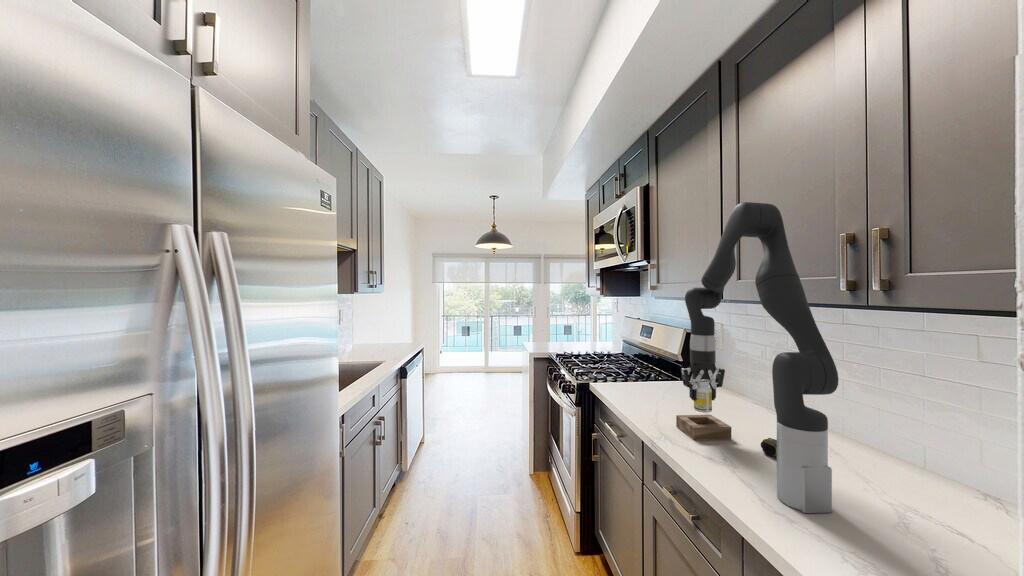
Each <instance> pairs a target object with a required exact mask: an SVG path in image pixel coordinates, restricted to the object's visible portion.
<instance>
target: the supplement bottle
mask: <svg viewBox="0 0 1024 576" xmlns="http://www.w3.org/2000/svg"><path fill="white" fill-rule="evenodd" d="M693 410H695V412H699V413H706V414H707V413H711V412H712V411H713V400H712V390H711V388H710V386H709V381H708V380H705V379H704V380H700V382H699V383H698V384H697V387H696V401H693Z"/></svg>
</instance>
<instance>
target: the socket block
mask: <svg viewBox="0 0 1024 576" xmlns="http://www.w3.org/2000/svg"><path fill="white" fill-rule="evenodd" d="M675 418H676V419H675V420H676V421H675V423H676V426H675V427H676V428H677V429H678V430H680V431H681V432H682V433H684V434H685V435H686V436H688V437H689V438H690V439H692V440H693V441H724V440H725V441H727V440H730V441H731V440H732V426H731V425H729V424H727V423H726V422H724V421H723V420H721V419H719V418H717V417H716V416H714V415H712V414H684V415H683V414H678V415H676V417H675Z"/></svg>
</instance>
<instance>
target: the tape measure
mask: <svg viewBox="0 0 1024 576" xmlns="http://www.w3.org/2000/svg"><path fill="white" fill-rule="evenodd" d="M760 447H761V449H762V451H763V453H765V454H766V455H770V456H772V457H774V458H777V439H774V438H771V437H768V438H764V439H763V440H762V441H761V442H760Z"/></svg>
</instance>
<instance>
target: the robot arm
mask: <svg viewBox="0 0 1024 576" xmlns="http://www.w3.org/2000/svg"><path fill="white" fill-rule="evenodd" d="M782 216H783V215H782V214H781V212H780V210H779V208H778V207H777V206H776V205H774V204H771V203H765V202H764V203H763V202H754V201H753V202H752V201H751V202H750V201H749V202H748V201H743V202H740V203H738V204H736V205H735V207H734V208H733V210H732V211H731V213H730V215H729V216H728V218H727V222H726V224H725V227H724V229H723V232H722V235H721V237H720V240H719V243H718V246H717V248H716V251H715V254H714V256H713V258H712V259H711V261H710V263H709V265H708V266H707V268H706V270H705V272H704V273H703V275H702V277H701V280H700V282H701V284H702V286H703V287H690V288H689V289H688V290H687V291H686V293H685V296H684V302H685V306H686V309H687V313H688V317H689V320H690V339H689V362H690V365H689V367H687V368H684V367H681V368H680V373H681V380H682V384H683V386H685V387H687V388H688V389H689V398H690V399H691V401H693V402H694V401H696V387H697V384H698V383H699V382H700V380H708V381H709V386H708V387H710V388H711V390H712V401H715V400H716V398H717V388H722V387H723V384H724V377H725V372H726V370H725V369H724V368H722V367H716V359H717V358H716V356H717V355H716V351H717V350H716V349H717V348H716V338H715V337H716V336H715V335H716V334H715V331H716V330H715V329H716V328H715V326H716V325H715V319H714V318H713V317H711V316H709V315H708V316H707V315H705V314H703V311H702V310H711V309H715V308H717V307H718V306H719V305H720V304H721V302H722V298H723V294H724V291H725V287H726V285H727V284H728V282H729V281H730V279H731V278H732V276H733V274H734V273H735V269H736V267H737V262H736V253H735V248H736V245H737V244H738V242H739V241H740V240H741V238H743V237H745V238H758V239H759V240H760V243H761V245H762V249H763V258H762V261H761V263H760V265H759V267H758V270H757V272H756V275H755V279H754V280H755V282H754V283H755V287H756V290H757V294H758V298H759V301H760V303H761V305H762V307H763V309H764V311H766V312H767V313H768V314H769V315H770V317H772V319H773V320H775V322H777V324H778V325H780V326H781V327H782V328H783V329H784V330H785V331H787V333H788V334H789V336H790V337H791V338H792V339H793V341H794V343H795V346H796V347H797V349H798V351H797V352H796V351H793V352H792V351H788V352H786V351H785V352H781V353H778V354H777V355H775V358H774V360H773V362H772V367H771V368H772V370H771V372H772V373H771V375H772V387H773V390H772V391H773V406H774V410H775V413H776V414H775V415H776V440H777V457H776V497H777V499H778V500H779V501H780V502H782V503H783V504H785V505H787V506H788V507H790V508H793V509H796V510H799V511H800V512H802V513H804V514H815V513H816V514H820V513H822V514H823V513H826V514H827V513H832V512H833V479H832V478H833V475H832V474H833V469H832V467H831V466H829V462H828V461H829V448H828V447H829V435H828V434H829V420H828V417H827V415H826V414H825V413H823V412H821V411H819V410H817V409H814V408H811V407H809V406H807V405H805V402H804V395H806V396H807V395H815V396H817V395H818V396H819V395H822V396H823V395H831V394H833V393H834V392H836V390H837V389H838V386H839V373H838V370H837V365H836V363H835V361H834V359H833V356H832V354H831V352H830V349H828V346H827V344H826V342H825V340H824V339H823V336H822V334H821V332H820V329H819V327H818V326H817V323H816V320H815V318H814V316H813V313H812V311H811V307H810V305H809V303H808V300H807V296H806V293H805V290H804V286H803V284H802V281H801V278H800V276H799V273H798V272H797V269H796V265H795V263H794V260H793V257H792V254H791V250H790V248H789V247H790V246H789V243H788V239H787V234H786V229H785V224H784V220H783V217H782ZM690 373H691V376H690ZM714 375H715V377H714Z"/></svg>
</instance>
